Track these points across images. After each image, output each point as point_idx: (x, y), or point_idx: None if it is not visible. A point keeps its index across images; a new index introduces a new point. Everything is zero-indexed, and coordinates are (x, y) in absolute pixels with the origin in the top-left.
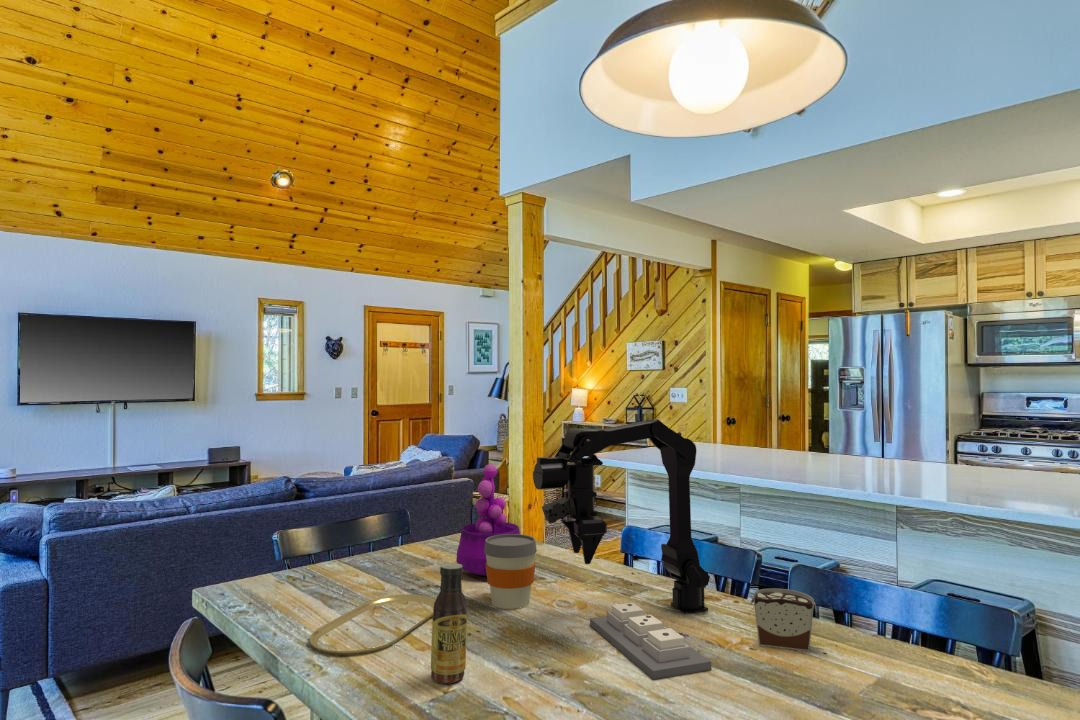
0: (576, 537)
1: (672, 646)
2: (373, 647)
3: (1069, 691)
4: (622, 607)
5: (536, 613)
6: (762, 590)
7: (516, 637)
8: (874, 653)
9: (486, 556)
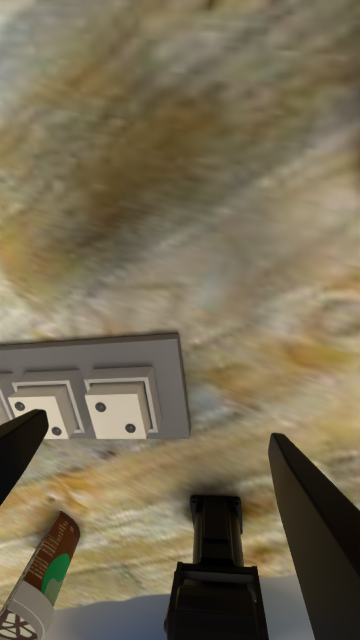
0: (321, 569)
1: None
2: None
3: None
4: (118, 409)
5: (296, 229)
6: (34, 626)
7: (140, 136)
8: None
9: None
